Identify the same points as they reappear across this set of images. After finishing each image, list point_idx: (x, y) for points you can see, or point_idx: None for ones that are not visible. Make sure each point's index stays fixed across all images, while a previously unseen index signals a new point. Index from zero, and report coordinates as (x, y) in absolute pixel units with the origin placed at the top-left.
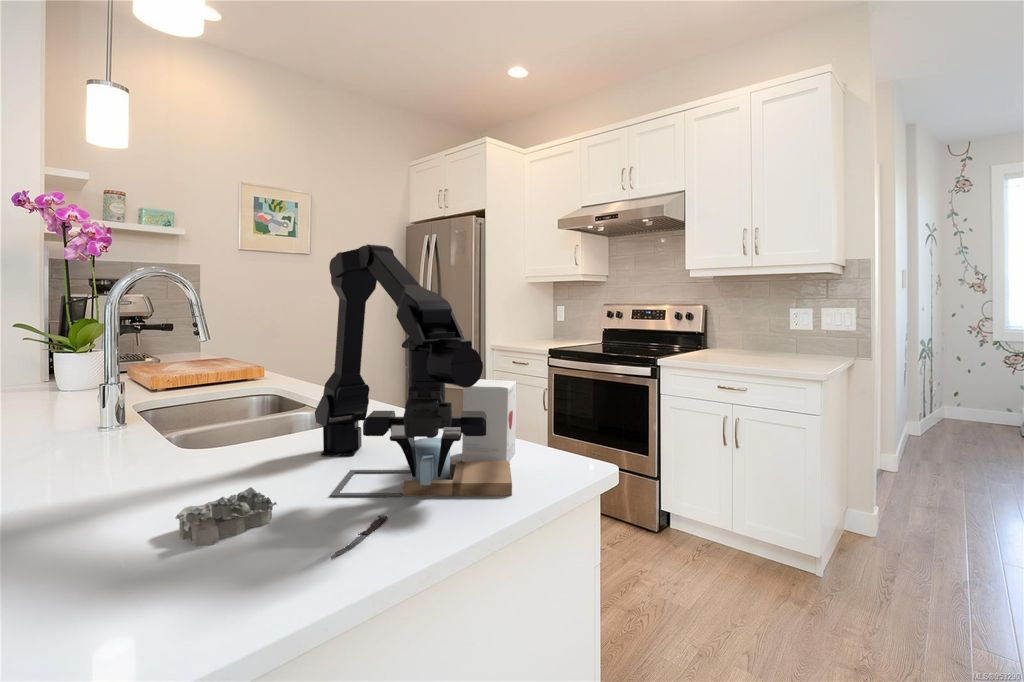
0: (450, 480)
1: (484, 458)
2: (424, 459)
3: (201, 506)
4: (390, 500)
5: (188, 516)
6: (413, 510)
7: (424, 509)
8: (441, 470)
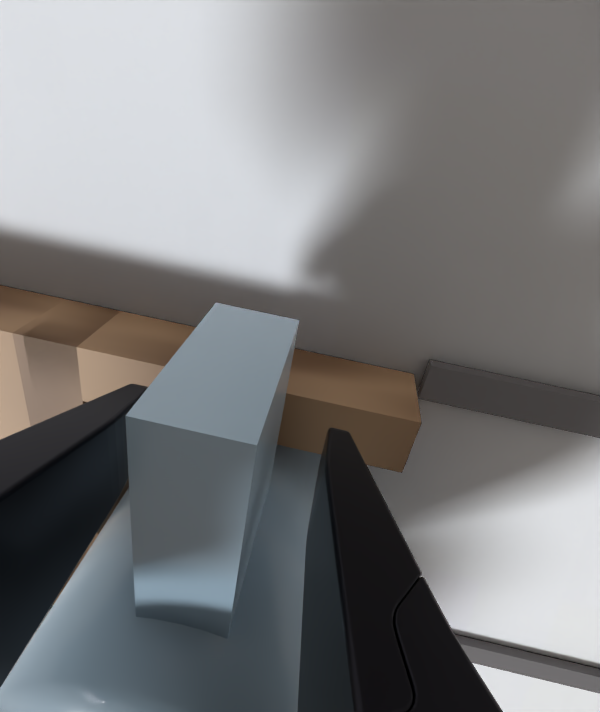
0: (96, 395)
1: None
2: (209, 531)
3: None
4: (505, 322)
5: None
6: (372, 101)
7: (289, 106)
8: (88, 402)
